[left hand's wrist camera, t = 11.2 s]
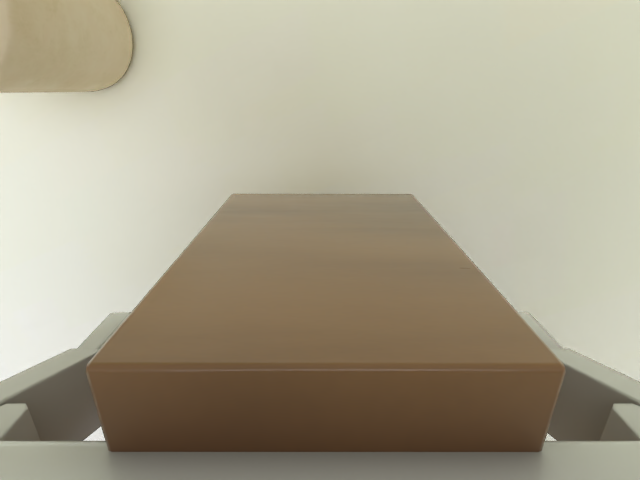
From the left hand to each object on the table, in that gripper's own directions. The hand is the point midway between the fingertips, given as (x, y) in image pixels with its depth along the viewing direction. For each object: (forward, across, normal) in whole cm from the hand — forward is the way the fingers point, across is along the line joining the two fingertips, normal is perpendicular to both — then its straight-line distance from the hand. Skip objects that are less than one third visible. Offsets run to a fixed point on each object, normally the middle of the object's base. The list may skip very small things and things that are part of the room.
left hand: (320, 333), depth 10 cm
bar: (+3, 0, -10) cm, 11 cm away
